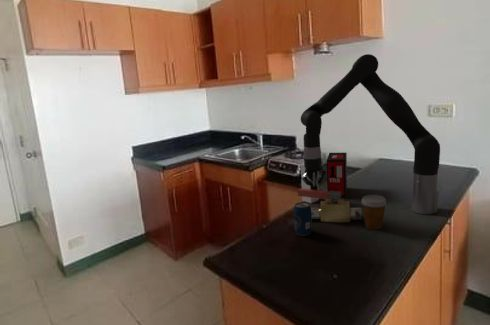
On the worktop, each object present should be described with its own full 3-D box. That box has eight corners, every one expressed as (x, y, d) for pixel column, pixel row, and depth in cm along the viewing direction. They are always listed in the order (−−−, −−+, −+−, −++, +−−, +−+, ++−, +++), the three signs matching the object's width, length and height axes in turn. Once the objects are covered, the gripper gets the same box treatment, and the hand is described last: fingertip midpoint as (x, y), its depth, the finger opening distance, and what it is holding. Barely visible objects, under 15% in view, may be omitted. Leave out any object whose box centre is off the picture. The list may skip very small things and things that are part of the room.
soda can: (291, 231, 137) (290, 203, 134) (305, 227, 140) (304, 200, 137) (300, 238, 131) (299, 209, 128) (315, 233, 134) (314, 205, 131)
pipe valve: (360, 215, 147) (360, 195, 144) (362, 222, 140) (362, 201, 138) (302, 215, 152) (301, 195, 150) (302, 221, 145) (301, 201, 143)
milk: (310, 203, 166) (309, 160, 161) (301, 200, 171) (300, 158, 165) (319, 200, 169) (317, 157, 164) (310, 197, 174) (308, 156, 169)
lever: (341, 197, 144) (341, 191, 144) (338, 201, 141) (338, 194, 140) (300, 193, 154) (300, 187, 153) (297, 196, 150) (297, 190, 149)
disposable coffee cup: (385, 222, 139) (386, 194, 136) (386, 232, 130) (387, 203, 127) (361, 220, 142) (361, 194, 139) (361, 230, 133) (361, 202, 130)
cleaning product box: (330, 187, 187) (329, 152, 182) (346, 188, 184) (346, 152, 179) (327, 197, 172) (326, 159, 167) (345, 198, 169) (345, 159, 164)
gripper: (318, 152, 153) (319, 187, 158) (295, 157, 147) (297, 194, 152) (329, 154, 147) (330, 191, 151) (306, 160, 141) (308, 199, 145)
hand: (314, 193), depth 151 cm, fingers closed
